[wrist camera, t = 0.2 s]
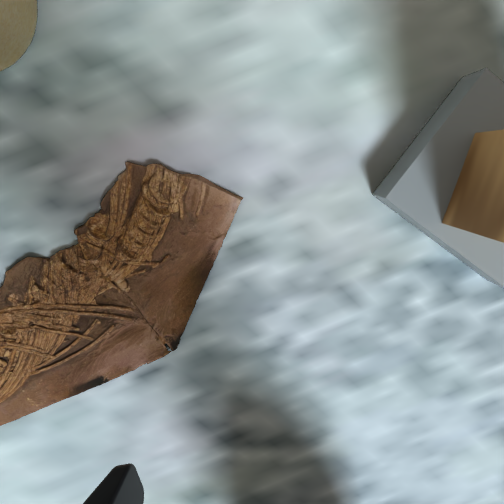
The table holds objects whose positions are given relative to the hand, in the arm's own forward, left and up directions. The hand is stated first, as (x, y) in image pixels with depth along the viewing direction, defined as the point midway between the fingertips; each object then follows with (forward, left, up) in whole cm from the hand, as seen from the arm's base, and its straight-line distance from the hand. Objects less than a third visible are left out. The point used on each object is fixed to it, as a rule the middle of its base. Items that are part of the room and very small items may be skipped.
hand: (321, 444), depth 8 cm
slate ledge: (+2, -13, -14) cm, 20 cm away
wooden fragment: (-1, +13, -15) cm, 20 cm away
